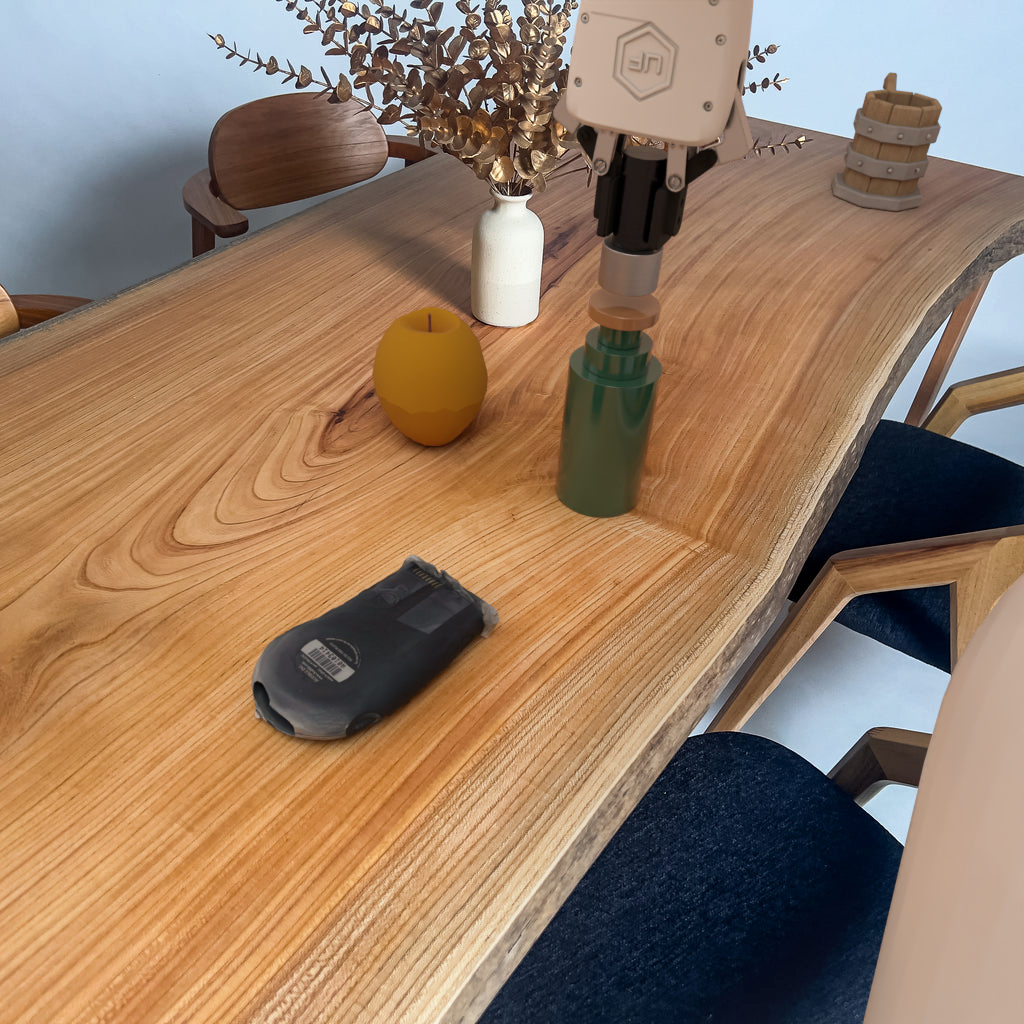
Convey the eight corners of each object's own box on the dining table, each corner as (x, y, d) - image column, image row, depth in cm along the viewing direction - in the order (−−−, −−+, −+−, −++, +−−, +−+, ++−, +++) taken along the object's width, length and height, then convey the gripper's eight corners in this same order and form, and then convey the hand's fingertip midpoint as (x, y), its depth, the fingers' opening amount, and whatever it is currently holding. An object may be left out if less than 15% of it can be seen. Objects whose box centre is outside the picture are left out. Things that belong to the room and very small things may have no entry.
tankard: (922, 215, 133) (960, 107, 123) (834, 204, 134) (864, 96, 125) (906, 173, 148) (938, 74, 139) (827, 164, 150) (853, 65, 140)
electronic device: (396, 590, 67) (221, 683, 56) (410, 533, 63) (226, 621, 53) (487, 668, 63) (317, 784, 52) (507, 612, 59) (330, 724, 49)
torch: (669, 290, 63) (692, 158, 58) (622, 301, 62) (642, 166, 56) (631, 267, 66) (650, 139, 61) (585, 278, 64) (600, 147, 59)
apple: (387, 399, 84) (383, 281, 77) (490, 409, 84) (496, 291, 77) (365, 459, 77) (358, 334, 69) (478, 470, 76) (484, 346, 69)
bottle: (656, 501, 75) (694, 311, 64) (588, 527, 71) (616, 332, 61) (604, 458, 79) (632, 274, 68) (538, 481, 76) (556, 292, 65)
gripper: (519, -96, 50) (502, 227, 62) (813, -61, 45) (735, 286, 56) (574, -103, 56) (549, 196, 67) (842, -72, 50) (765, 246, 62)
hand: (634, 234), depth 62 cm, fingers closed on torch, 3 cm apart
